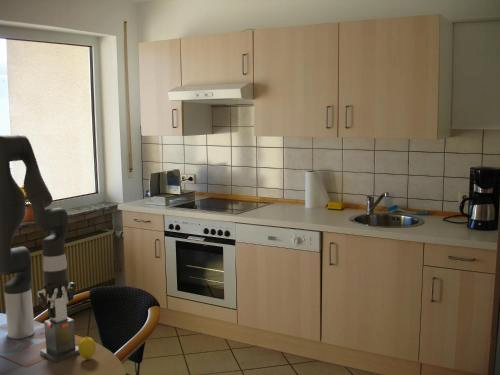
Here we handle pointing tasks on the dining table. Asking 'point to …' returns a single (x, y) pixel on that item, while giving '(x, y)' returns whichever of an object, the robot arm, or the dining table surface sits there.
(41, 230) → the robot arm
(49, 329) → the stand base
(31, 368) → the dining table surface
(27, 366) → the dining table surface
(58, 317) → the column
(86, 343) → the lemon
